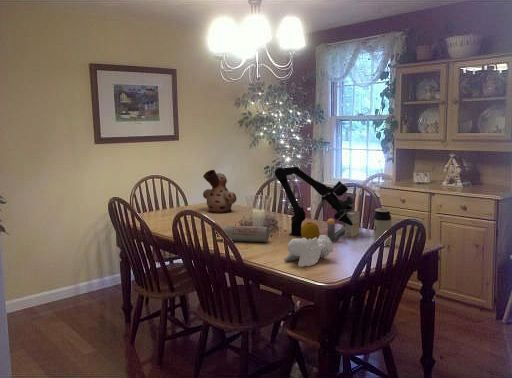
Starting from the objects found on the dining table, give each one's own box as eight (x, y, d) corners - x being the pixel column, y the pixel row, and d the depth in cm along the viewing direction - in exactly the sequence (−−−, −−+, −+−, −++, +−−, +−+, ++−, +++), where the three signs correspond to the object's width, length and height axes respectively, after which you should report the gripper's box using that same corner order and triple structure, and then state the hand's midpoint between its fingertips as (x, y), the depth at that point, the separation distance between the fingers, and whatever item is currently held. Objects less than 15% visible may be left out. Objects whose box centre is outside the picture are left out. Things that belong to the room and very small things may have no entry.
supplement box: (351, 233, 269) (351, 210, 267) (359, 234, 266) (359, 211, 264) (344, 236, 262) (344, 212, 260) (352, 237, 260) (352, 213, 258)
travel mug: (390, 243, 247) (391, 208, 245) (390, 247, 240) (391, 211, 237) (374, 242, 249) (374, 207, 247) (373, 246, 242) (374, 210, 239)
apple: (297, 243, 251) (297, 220, 250) (314, 240, 255) (314, 219, 253) (305, 247, 242) (305, 224, 241) (323, 245, 246) (323, 222, 244)
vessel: (243, 210, 341) (242, 168, 337) (225, 216, 323) (223, 171, 318) (210, 207, 356) (209, 166, 352) (191, 212, 338) (189, 170, 334)
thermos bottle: (266, 225, 252) (215, 223, 259) (264, 240, 249) (213, 237, 256) (269, 229, 259) (219, 227, 266) (268, 243, 256) (217, 241, 263)
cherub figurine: (336, 238, 217) (299, 240, 207) (333, 265, 218) (297, 268, 208) (318, 232, 228) (282, 233, 218) (315, 258, 230) (280, 260, 219)
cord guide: (333, 242, 251) (333, 219, 250) (326, 241, 253) (326, 218, 251) (350, 228, 282) (351, 207, 280) (344, 227, 283) (344, 207, 282)
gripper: (339, 195, 254) (360, 217, 251) (349, 190, 271) (369, 210, 267) (325, 209, 259) (345, 230, 255) (335, 203, 275) (355, 223, 272)
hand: (354, 223), depth 262 cm, fingers open, 9 cm apart
